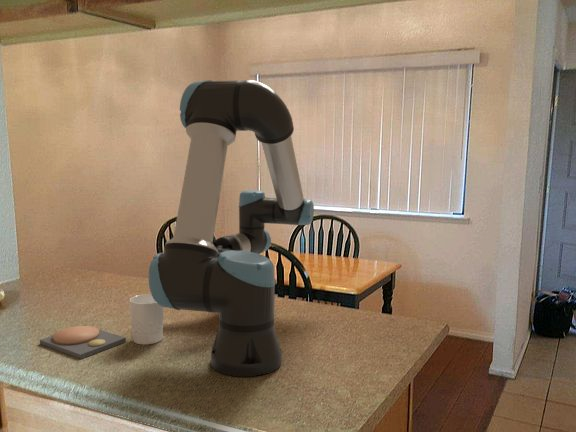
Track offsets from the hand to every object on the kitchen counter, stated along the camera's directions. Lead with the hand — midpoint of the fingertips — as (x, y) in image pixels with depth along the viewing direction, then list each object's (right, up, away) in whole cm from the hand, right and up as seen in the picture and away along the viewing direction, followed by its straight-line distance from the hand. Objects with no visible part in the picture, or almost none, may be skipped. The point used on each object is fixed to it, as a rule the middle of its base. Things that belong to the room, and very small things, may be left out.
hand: (177, 263), depth 128 cm
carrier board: (-20, -18, -9) cm, 28 cm away
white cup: (-6, -18, -6) cm, 20 cm away
